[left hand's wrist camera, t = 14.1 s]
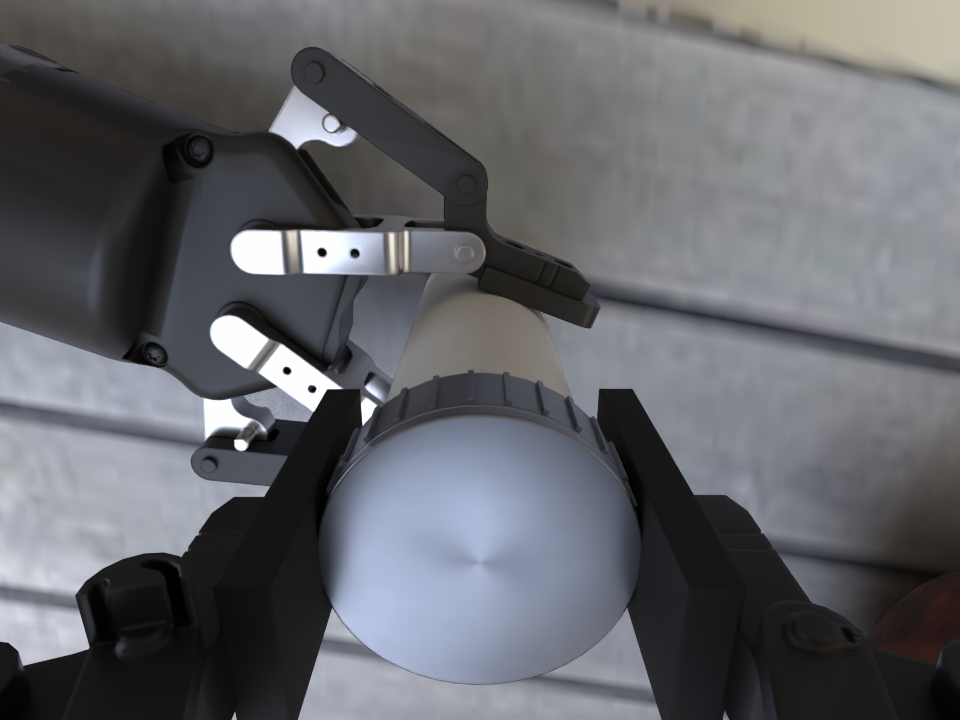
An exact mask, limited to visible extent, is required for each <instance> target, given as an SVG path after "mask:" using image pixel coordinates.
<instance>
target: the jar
mask: <svg viewBox="0 0 960 720" xmlns="http://www.w3.org/2000/svg"><path fill="white" fill-rule="evenodd" d="M468 370H474V373H494V374H503V372H504V371H505V372H509V374H510V376H514V377H519V378H523V379H527V380H529V381H532V382H535V383H536V382H537V380H539V381H542V382H543V385H544V386H545V387H547V388H549V389H551V390H553V391H555V392H557V393H559V394H561V395H562V396H564V397H565V398H566V397H567V396H568V395H569V396H570V397H572V396H571V393H570V390H569V387H568V384H567V381H566V378H565V375H564V372H563V369H562V367H561V364H560V361H559V358H558V355H557V352H556V349H555V346H554V343H553V340H552V337H551V334H550V331H549V329H548V326H547V323H546V320H545V317H544V314H543V312H540V311H538V310H535V309H532V308H530V307H527V306H524V305H522V304H519V303H516V302H514V301H512V300H509V299H506V298H504V297H500V296H498V295H495V294H492V293H490V292H487V291H484V290H482V289H479V288H478V278H475V277H473V276H470V275H467V274H449V273H431V275H430V277H429V279H428V281H427V283H426V286H425V289H424V292H423V295H422V298H421V301H420V304H419V307H418V310H417V313H416V315H415V318H414V321H413V324H412V327H411V330H410V333H409V336H408V339H407V342H406V345H405V348H404V351H403V354H402V356H401V359H400V362H399V365H398V368H397V371H396V374H395V377H394V380H393V383H392V386H391V389H390V392H389V395H388V398H387V400H386V403H387V402H388V401H390V400H391V399H392V398H394V397H396V396H397V395H399V394H400V392H401V389H403V388H405V387H407V389H410V388H412V387H414V386H417V385H419V384H422V383H424V382H426V381H430V380H433V376H436V375H439V377H440V378H441V377H444V376H450V375H456V374H463V373H468ZM386 403H385V404H386Z"/></svg>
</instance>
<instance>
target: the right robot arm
mask: <svg viewBox="0 0 960 720" xmlns="http://www.w3.org/2000/svg"><path fill="white" fill-rule="evenodd" d="M291 75H292V79H293V82H294V86H293V88H292V89H291V91H290V93H289V95H288V97H287V98H286V100H285V102H284V104H283V105H282V107H281V109H280V111H279V113H278V114H277V116H276V118H275V120H274V122H273V123H272V125H271V127H270V129H269V130H265V131H260V130H257V131H249V132H244V133H239V132H232V131H228V130H225V129H222V128H219V127H217V126H214V125H211V124H209V123H206V122H204V121H201V120H199V119H196V118H193V117H191V116H188V115H186V114H183V113H180V112H178V111H175V110H173V109H170V108H168V107H165V106H162V105H160V104H157V103H155V102H152V101H150V100H147V99H144V98H142V97H139V96H137V95H134V94H132V93H129V92H126V91H124V90H121V89H119V88H116V87H113V86H111V85H108V84H106V83H103V82H101V81H98V80H95V79H93V78H90V77H88V76H85V75H83V74H80V73H77V72H75V71H72V70H70V69H67V68H64V67H62V66H59V65H57V63H56V62H55V61H53V60H51V59H49V58H47V57H45V56H43V55H41V54H39V53H37V52H34V51H32V50H29V49H27V48H24V47H21V46H18V45H16V46H12V45H5V44H3V43H0V322H2V323H5V324H8V325H11V326H14V327H17V328H20V329H23V330H26V331H29V332H32V333H35V334H38V335H41V336H44V337H47V338H50V339H53V340H56V341H59V342H62V343H65V344H68V345H71V346H74V347H77V348H80V349H83V350H86V351H89V352H92V353H95V354H98V355H101V356H104V357H107V358H110V359H114V360H118V361H122V362H128V363H135V364H141V365H147V366H153V367H157V368H160V369H162V370H165V371H166V372H168V373H170V374H171V375H173V376H174V377H176V378H177V379H178V380H179V381H181V382H182V383H183V384H184V385H185V386H186V387H187V388H188V389H189V390H190V391H192V392H193V393H194V394H196V395H198V396H200V397H202V398H203V414H204V436H205V439H204V442H203V443H202V444H201V446H200V447H199V448H198V449H197V450H196V451H195V452H194V454H193V455H192V457H191V466H192V468H193V470H194V472H195V473H196V474H197V475H198V476H200V477H201V478H203V479H206V480H212V481H222V482H232V483H243V484H253V485H263V486H271V485H272V483H273V481H274V479H275V478H276V476H277V474H278V473H279V471H280V469H281V467H282V466H283V464H284V462H285V460H286V459H287V457H288V455H289V454H290V452H291V450H292V448H293V447H294V445H295V443H296V442H297V440H298V438H299V436H300V435H301V433H302V431H303V429H304V428H305V426H306V424H307V423H308V422H300V421H290V420H280V419H275V418H274V416H273V415H272V412H271V410H270V409H269V408H267V407H259V406H255V405H253V404H251V403H250V402H248V401H247V400H246V399H245V397H244V395H248V394H252V393H256V392H260V391H264V390H268V389H272V388H276V387H279V388H280V389H282V390H283V391H285V392H286V393H287V394H289V395H290V396H292V397H293V398H294V399H296V400H297V401H299V402H300V403H301V404H303V405H304V406H306V407H307V408H308V409H310V410H311V411H313V412H314V411H315V409H316V407H317V405H318V404H319V402H320V400H321V398H322V397H323V395H324V393H325V392H326V390H327V389H360V394H361V408H362V422H363V425H364V423H365V422H366V421H367V420H368V419H369V418H370V417H371V416H372V413H373V410H374V408H375V407H376V406H377V405H379V406H380V407H382V406H383V405H384V404H385V403H386V400H387V398H388V395H389V392H390V389H391V386H392V383H393V379H391V378H390V377H389V376H387V375H386V374H385V373H383V372H382V371H381V370H379V369H378V368H377V367H376V366H375V364H374V362H373V360H372V358H371V357H370V356H369V355H368V354H367V353H366V352H365V351H363V350H362V349H361V348H359V347H358V346H357V345H355V344H354V343H353V342H351V341H350V340H349V339H348V337H349V334H350V331H351V328H352V325H353V302H354V299H355V297H356V296H357V294H358V293H359V291H360V290H361V288H362V287H363V286H364V284H365V283H366V281H367V279H368V276H369V275H380V276H390V275H398V274H402V273H408V272H414V273H449V274H467V275H470V276H473V277H475V278H478V288H479V289H482V290H484V291H487V292H490V293H492V294H495V295H498V296H500V297H504V298H506V299H509V300H512V301H514V302H516V303H519V304H522V305H524V306H527V307H530V308H532V309H535V310H538V311H540V312H543V313H546V314H548V315H551V316H554V317H556V318H559V319H562V320H564V321H567V322H570V323H572V324H575V325H578V326H581V327H584V328H591V327H592V325H593V323H594V321H595V319H596V316H597V314H598V312H599V310H600V308H601V306H600V305H599V303H598V302H597V300H596V299H595V297H594V296H593V295H592V294H590V293H589V292H587V290H588V288H589V286H590V285H589V283H588V282H587V280H586V279H585V277H584V276H583V275H582V274H581V273H580V272H579V271H578V270H577V269H576V268H575V267H574V266H573V265H572V264H571V263H569V262H566V261H564V260H561V259H559V258H556V257H553V256H551V255H548V254H546V253H543V252H540V251H538V250H535V249H533V248H530V247H528V246H525V245H522V244H520V243H517V242H515V241H512V240H510V239H507V238H504V237H502V236H500V235H498V234H497V233H495V232H494V231H493V230H492V229H491V227H490V226H489V224H488V222H487V218H486V200H487V189H488V179H487V172H486V169H485V167H484V166H483V164H482V163H481V162H480V161H478V160H477V159H476V158H474V157H473V156H472V155H470V154H469V153H468V152H466V151H465V150H464V149H462V148H461V147H460V146H458V145H457V144H456V143H454V142H453V141H452V140H450V139H449V138H448V137H446V136H445V135H444V134H442V133H441V132H440V131H438V130H437V129H436V128H434V127H433V126H432V125H430V124H429V123H428V122H426V121H425V120H424V119H422V118H421V117H420V116H418V115H417V114H416V113H414V112H413V111H411V110H410V109H409V108H407V107H406V106H405V105H403V104H402V103H401V102H399V101H398V100H397V99H395V98H394V97H393V96H391V95H390V94H389V93H387V92H386V91H385V90H383V89H382V88H381V87H379V86H378V85H377V84H375V83H374V82H373V81H371V80H370V79H369V78H367V77H366V76H365V75H363V74H362V73H361V72H359V71H358V70H357V69H355V68H354V67H353V66H351V65H350V64H349V63H347V62H346V61H344V60H343V59H341V58H339V57H337V56H335V55H333V54H331V53H329V52H327V51H325V50H323V49H320V48H317V47H308V48H305V49H303V50H301V51H300V52H298V53H297V55H296V56H295V57H294V59H293V62H292V66H291ZM361 137H364V138H365V139H366V140H368V141H369V142H370V143H372V144H373V145H375V146H376V147H377V148H379V149H380V150H382V151H383V152H384V153H386V154H387V155H388V156H390V157H391V158H393V159H394V160H395V161H397V162H398V163H399V164H401V165H402V166H404V167H405V168H406V169H408V170H409V171H411V172H412V173H413V174H415V175H416V176H417V177H419V178H420V179H422V180H423V181H424V182H426V183H427V184H429V185H430V186H431V187H433V188H434V189H435V190H437V191H438V192H440V193H441V194H442V195H444V219H425V218H412V217H408V216H397V215H363V214H351V212H350V211H349V209H348V208H347V207H346V205H345V204H344V202H343V201H342V200H341V198H340V197H339V195H338V194H337V192H336V191H335V190H334V188H333V187H332V185H331V184H330V183H329V181H328V180H327V178H326V177H325V176H324V174H323V173H322V171H321V170H320V169H319V167H318V166H317V164H316V163H315V162H314V160H313V159H312V157H311V156H310V154H309V153H308V152H307V150H306V148H307V147H308V145H309V144H310V143H312V142H313V141H316V140H321V141H324V142H326V143H328V144H330V145H332V146H337V147H342V146H349V145H352V144H354V143H356V142H357V141H358V140H359V139H360V138H361Z"/></svg>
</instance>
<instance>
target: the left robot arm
mask: <svg viewBox="0 0 960 720" xmlns="http://www.w3.org/2000/svg"><path fill="white" fill-rule="evenodd" d="M597 422H598V424H599V427H600V429H601V432H602V434H603V435H604V437H605V439H606V440H607V442H610V441H612V442H613V444H614V446H615V448H616V451H617V453H618V455H619V458H620V460H621V463H622V465H623V467H624V470H625V472H626V474H627V477H628V479H629V480H627V481H628V483H629V486H630V488H631V491H632V493H633V495H634V498H635V500H636V503H637V505H638V506H637V513H638V518H639V522H640V526H641V530H642V545H641V555H640V564H639V573H638V581H637V587H636V589H635V592H634V594H633V597H632V599H631V601H630V603H629V605H628V606H627V608H628V611H629V615H630V618H631V621H632V625H633V628H634V631H635V634H636V638H637V641H638V644H639V647H640V651H641V654H642V657H643V661H644V664H645V667H646V670H647V674H648V677H649V680H650V683H651V687H652V690H653V693H654V696H655V700H656V703H657V706H658V710H659V713H660V716H661V719H662V720H723V714H724V709H725V711H726V713H727V716H728V718H729V720H960V639H957V640H951V641H950V642H949V643H948V644H947V645H945V646H944V647H943V648H942V650H941V653H940V656H939V659H938V662H937V663H933V662H929V661H925V660H921V659H916V658H912V657H908V656H904V655H899V654H895V653H891V652H887V651H884V650H880V649H877V648H874V647H871V646H870V645H869V643H868V642H867V640H866V639H865V637H864V635H863V634H862V632H861V631H860V630H859V629H858V628H856V627H855V626H854V625H853V624H852V623H851V622H849V621H848V620H847V619H846V618H845V617H843V616H841V615H839V614H837V613H835V612H833V611H831V610H829V609H828V608H826V607H823V606H819V605H816V604H812V603H811V601H810V600H809V598H808V597H807V596H806V594H805V593H804V591H803V590H802V588H801V587H800V585H799V584H798V583H797V581H796V580H795V578H794V577H793V575H792V574H791V573H790V571H789V570H788V568H787V567H786V565H785V564H784V563H783V561H782V560H781V558H780V557H779V555H778V554H777V552H776V551H775V550H774V549H772V545H771V544H770V542H769V541H768V540H767V538H766V537H765V535H764V534H761V529H760V528H759V527H758V525H757V524H756V522H755V521H754V519H753V518H752V517H751V515H750V514H749V512H748V511H747V510H745V509H744V508H743V507H741V506H740V505H739V504H737V503H736V502H734V501H733V500H732V499H730V498H729V497H727V496H726V495H694V494H693V493H692V491H691V489H690V487H689V486H688V484H687V482H686V481H685V479H684V477H683V475H682V474H681V472H680V470H679V468H678V467H677V465H676V463H675V462H674V460H673V458H672V456H671V455H670V453H669V451H668V450H667V448H666V446H665V444H664V443H663V441H662V439H661V437H660V436H659V434H658V432H657V431H656V429H655V427H654V425H653V424H652V422H651V420H650V419H649V417H648V415H647V413H646V412H645V410H644V408H643V406H642V405H641V403H640V401H639V400H638V398H637V396H636V394H635V393H634V391H633V389H599V400H598V413H597ZM362 426H363V422H362V408H361V394H360V389H327V390H326V392H325V393H324V395H323V397H322V398H321V400H320V402H319V404H318V405H317V407H316V409H315V411H314V412H313V414H312V416H311V417H310V419H309V421H308V423H307V424H306V426H305V428H304V429H303V431H302V433H301V435H300V436H299V438H298V440H297V442H296V443H295V445H294V447H293V448H292V450H291V452H290V454H289V455H288V457H287V459H286V460H285V462H284V464H283V466H282V467H281V469H280V471H279V473H278V474H277V476H276V478H275V479H274V481H273V483H272V485H271V486H270V488H269V490H268V491H267V493H266V495H265V497H234V498H232V499H231V500H229V501H228V502H227V503H225V504H224V505H222V506H221V507H220V508H218V509H217V510H216V511H214V512H213V513H212V514H211V515H210V517H209V518H208V520H207V521H206V522H205V524H204V525H203V527H202V528H201V530H200V531H199V536H196V537H195V538H194V540H193V541H192V543H191V544H190V546H189V547H188V552H185V553H184V554H183V556H182V557H180V556H176V555H172V554H168V553H146V554H141V555H137V556H133V557H130V558H126V559H122V560H120V561H118V562H116V563H114V564H112V565H110V566H108V567H105V568H103V569H102V570H100V571H99V572H98V573H96V574H95V575H94V576H92V577H91V578H90V579H88V580H87V581H86V582H85V583H84V584H83V586H82V587H81V588H80V590H79V591H78V592H77V594H76V595H75V596H76V600H77V603H78V607H79V611H80V614H81V618H82V621H83V625H84V628H85V632H86V635H87V639H88V642H89V646H90V647H89V649H88V650H85V651H81V652H78V653H75V654H71V655H67V656H63V657H59V658H55V659H50V660H46V661H42V662H38V663H33V664H29V665H25V666H23V664H22V662H21V659H20V656H19V653H18V651H17V650H16V649H15V648H14V647H13V646H11V645H10V644H9V643H5V642H0V720H232V717H233V715H234V712H235V713H236V718H237V720H298V717H299V714H300V711H301V708H302V704H303V701H304V698H305V694H306V691H307V688H308V685H309V681H310V678H311V675H312V672H313V668H314V665H315V662H316V659H317V655H318V652H319V649H320V645H321V642H322V639H323V636H324V632H325V629H326V626H327V623H328V619H329V616H330V613H331V610H332V606H331V604H330V602H329V600H328V598H327V596H326V594H325V591H324V588H323V585H322V578H321V570H320V560H319V551H318V541H317V534H318V528H319V522H320V518H321V515H322V513H323V510H324V507H325V504H326V501H327V499H328V495H325V491H326V489H327V486H328V484H329V482H330V479H331V477H332V475H333V472H334V470H335V468H336V465H337V463H338V460H339V458H340V456H341V454H343V455H344V453H345V451H346V448H347V446H348V443H349V441H350V438H351V436H352V434H353V431H354V430H355V429H356V428H357V429H359V430H360V429H361V428H362Z"/></svg>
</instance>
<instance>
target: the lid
mask: <svg viewBox="0 0 960 720" xmlns="http://www.w3.org/2000/svg"><path fill="white" fill-rule="evenodd" d="M627 480H629V479H628V477H627V474H626V472H625V470H624V467H623V465H622V463H621V460H620V458H619V455H618V453H617V451H616V448H615V446H614V444H613V442H612V441H610V442H607V440H606V439H605V437H604V435H603V434H602V432H601V429H600V427H599V424H598V422H597V419H596V418H595V417H594V416H593V417H591V418H590V417H589V416H588V415H587V414H585V413H584V412H583V411H582V410H581V409H580V408H579V407H578V406H577V405H575V404H574V401H573V398H572V397H570V396H569V395H568V396H567V397H566V398H565V397H564V396H562V395H561V394H559V393H557V392H555V391H553V390H551V389H549V388H547V387H545V386H544V385H543V382H542V381H539V380H537V382H536V383H535V382H532V381H529V380H527V379H523V378H519V377H514V376H510V374H509V372H505V371H504V372H503V374H494V373H474V370H468V373H463V374H456V375H450V376H444V377H441V378H440V377H439V375H436V376H433V380H430V381H426V382H424V383H422V384H419V385H417V386H414V387H412V388H410V389H407V387H405V388H403V389H401V392H400V394H399V395H397V396H396V397H394V398H392V399H391V400H390V401H388V402H387V403H386V404H384V405H383V406H382V407H380V406H379V405H377V406H376V407H375V408H374V410H373V413H372V416H371V417H370V418H369V419H368V420H367V421H366V422H365V423H364V425H363V426H362V428H361V429H360V430H359V429H357V428H356V429H355V430H354V431H353V434H352V436H351V438H350V441H349V443H348V446H347V448H346V451H345V453H344V455H343V454H341V456H340V458H339V460H338V463H337V465H336V468H335V470H334V472H333V475H332V477H331V479H330V482H329V484H328V486H327V489H326V491H325V495H328V499H327V501H326V504H325V507H324V510H323V513H322V515H321V518H320V522H319V528H318V534H317V541H318V551H319V560H320V570H321V578H322V585H323V588H324V591H325V594H326V596H327V598H328V600H329V602H330V604H331V606H332V608H333V609H334V611H335V612H336V614H337V615H338V617H339V618H340V620H341V621H342V623H343V624H344V625H345V626H346V627H347V628H348V630H349V631H350V632H351V633H352V634H353V635H354V636H355V637H356V638H357V639H358V640H359V641H360V642H362V643H363V644H364V645H365V646H366V647H367V648H369V649H370V650H371V651H373V652H374V653H376V654H377V655H379V656H380V657H382V658H383V659H385V660H387V661H389V662H390V663H392V664H394V665H396V666H398V667H400V668H402V669H405V670H407V671H410V672H412V673H415V674H417V675H421V676H424V677H428V678H431V679H435V680H440V681H445V682H451V683H459V684H472V685H484V684H500V683H508V682H515V681H519V680H524V679H528V678H532V677H535V676H538V675H541V674H544V673H547V672H550V671H552V670H555V669H557V668H559V667H561V666H563V665H566V664H568V663H569V662H571V661H573V660H574V659H576V658H578V657H579V656H581V655H583V654H584V653H585V652H587V651H588V650H589V649H591V648H592V647H593V646H595V645H596V644H597V643H598V642H599V641H600V640H601V639H602V638H603V637H604V636H605V635H606V634H607V633H608V632H609V631H610V630H611V629H612V628H613V627H614V625H615V624H616V623H617V622H618V620H619V619H620V618H621V617H622V615H623V613H624V612H625V610H626V608H627V606H628V605H629V603H630V601H631V599H632V597H633V594H634V592H635V589H636V587H637V581H638V573H639V564H640V555H641V545H642V530H641V526H640V522H639V518H638V513H637V506H638V505H637V503H636V500H635V498H634V495H633V493H632V491H631V488H630V486H629V483H628V481H627Z"/></svg>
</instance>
